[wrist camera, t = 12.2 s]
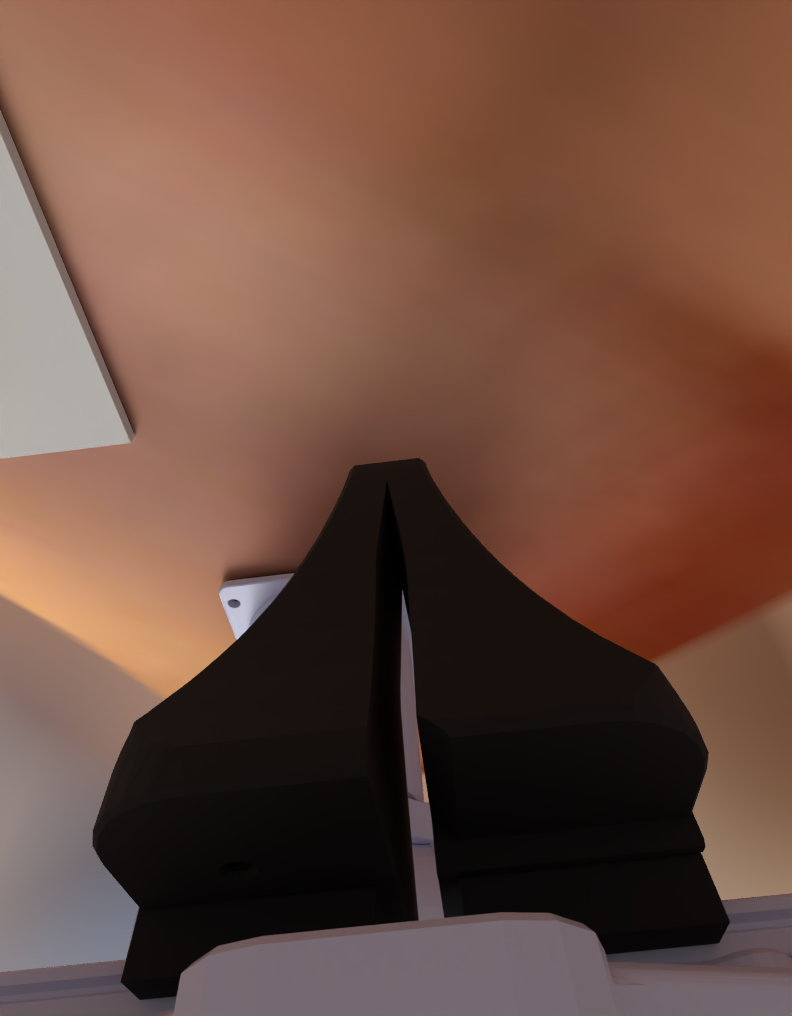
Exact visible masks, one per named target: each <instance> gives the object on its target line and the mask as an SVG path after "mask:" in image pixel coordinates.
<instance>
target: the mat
mask: <svg viewBox="0 0 792 1016" xmlns="http://www.w3.org/2000/svg"><path fill="white" fill-rule="evenodd" d="M134 436H135V435H134V433H133V430H132V428H131V425H130V423H129V420H128V418H127V416H126V413H125V411H124V408H123V406H122V403H121V401H120V399H119V396H118V394H117V391H116V389H115V386H114V384H113V382H112V379H111V377H110V374H109V372H108V370H107V367H106V365H105V362H104V360H103V357H102V355H101V353H100V350H99V348H98V345H97V343H96V340H95V338H94V336H93V333H92V331H91V328H90V326H89V323H88V321H87V319H86V316H85V314H84V311H83V309H82V306H81V304H80V302H79V299H78V297H77V294H76V292H75V290H74V287H73V285H72V282H71V280H70V277H69V275H68V273H67V270H66V268H65V265H64V263H63V260H62V258H61V256H60V253H59V251H58V248H57V246H56V243H55V241H54V239H53V236H52V234H51V231H50V229H49V226H48V224H47V222H46V219H45V217H44V214H43V212H42V209H41V207H40V205H39V202H38V200H37V197H36V195H35V193H34V190H33V188H32V185H31V183H30V180H29V178H28V176H27V173H26V171H25V168H24V166H23V163H22V161H21V159H20V156H19V154H18V151H17V149H16V146H15V144H14V142H13V139H12V137H11V134H10V132H9V129H8V127H7V125H6V122H5V120H4V117H3V115H2V113H1V110H0V459H2V458H10V457H18V456H27V455H35V454H43V453H52V452H60V451H68V450H76V449H85V448H93V447H101V446H110V445H118V444H126V443H131V441H132V440H133V438H134Z"/></svg>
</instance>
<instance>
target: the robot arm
mask: <svg viewBox="0 0 792 1016" xmlns="http://www.w3.org/2000/svg"><path fill="white" fill-rule="evenodd" d="M219 597H220V599H221V602H222V604H223V607H224V609H225V612H226V615H227V617H228V620H229V622H230V625H231V628H232V630H233V633H234V635H235V638H236V641H235V642H234V643H233V644H232V645H231V646H230V647H229V648H228V649H227V650H226V651H224V652H223V653H222V654H221V655H220V656H219V657H218V658H217V659H216V660H214V661H213V662H212V663H211V664H210V665H209V666H207V667H206V668H205V669H204V670H203V671H202V672H200V673H199V674H198V675H197V676H195V677H194V678H193V679H192V680H191V681H189V682H188V683H187V684H185V685H184V686H183V687H181V688H180V689H179V690H177V691H176V692H175V693H173V694H172V695H171V696H169V697H168V698H167V699H165V700H164V701H163V702H161V703H160V704H159V705H157V706H156V707H155V708H153V709H152V710H151V711H149V712H148V713H147V714H145V715H144V716H142V717H141V718H139V719H138V720H136V721H135V722H134V724H133V726H132V729H131V731H130V734H129V736H128V738H127V740H126V742H125V744H124V746H123V748H122V750H121V752H120V755H119V757H118V760H117V762H116V764H115V767H114V769H113V772H112V775H111V778H110V781H109V784H108V787H107V790H106V793H105V796H104V799H103V802H102V805H101V808H100V811H99V814H98V817H97V820H96V823H95V826H94V829H93V847H94V849H95V851H96V853H97V855H98V857H99V858H100V860H101V862H102V863H103V865H104V866H105V867H106V868H107V870H108V871H109V872H110V873H111V874H112V875H113V877H114V878H115V879H116V880H117V881H118V883H119V884H120V885H121V886H122V887H123V888H124V890H125V891H126V892H127V893H128V894H129V896H130V897H131V898H132V899H133V900H134V901H135V903H136V904H137V905H138V910H137V914H136V918H135V922H134V926H133V931H132V935H131V940H130V944H129V949H128V954H127V958H126V960H118V961H107V962H98V963H87V964H77V965H67V966H58V967H47V968H37V969H27V970H17V971H8V972H0V1016H792V894H782V895H771V896H761V897H752V898H741V899H732V900H721V899H720V897H719V895H718V892H717V889H716V887H715V885H714V882H713V880H712V878H711V875H710V873H709V871H708V868H707V866H706V864H705V861H704V859H703V856H702V854H701V852H703V851H704V849H705V842H704V838H703V835H702V833H701V831H700V828H699V826H698V824H697V821H696V819H695V817H694V815H693V812H692V810H693V807H694V805H695V801H696V799H697V796H698V793H699V790H700V787H701V784H702V781H703V778H704V775H705V773H706V769H707V762H708V750H707V748H706V746H705V743H704V741H703V739H702V736H701V734H700V731H699V729H698V727H697V725H696V723H695V721H694V720H693V718H692V716H691V714H690V712H689V711H688V709H687V708H686V706H685V705H684V703H683V702H682V700H681V699H680V697H679V696H678V694H677V693H676V691H675V690H674V688H673V687H672V686H671V684H670V683H669V681H668V680H667V678H666V677H665V676H664V674H663V673H662V672H661V670H660V669H659V667H658V666H657V665H656V664H654V663H652V662H650V661H648V660H646V659H644V658H642V657H640V656H638V655H636V654H634V653H632V652H630V651H628V650H626V649H624V648H623V647H621V646H619V645H617V644H615V643H613V642H611V641H609V640H607V639H605V638H603V637H601V636H599V635H598V634H596V633H594V632H593V631H591V630H589V629H588V628H586V627H584V626H583V625H581V624H579V623H578V622H576V621H574V620H573V619H571V618H570V617H568V616H567V615H566V614H564V613H563V612H561V611H560V610H559V609H557V608H556V607H554V606H553V605H552V604H550V603H549V602H547V601H546V600H545V599H543V598H542V597H540V596H539V595H537V594H536V593H535V592H534V591H532V590H531V589H530V588H529V587H528V586H526V585H525V584H524V583H523V582H521V581H520V580H519V579H518V578H517V577H515V576H514V575H513V574H512V573H511V572H510V571H509V570H508V569H507V568H506V567H504V566H503V565H502V564H501V563H500V562H499V561H498V560H497V559H496V558H495V557H494V556H493V555H492V554H491V553H490V552H489V551H488V550H487V549H486V548H485V547H484V546H483V545H482V544H481V543H480V541H479V540H478V539H477V538H476V537H475V536H474V535H473V534H472V533H471V531H470V530H469V529H468V528H467V527H466V525H465V524H464V523H463V522H462V521H461V519H460V518H459V517H458V515H457V514H456V513H455V511H454V510H453V509H452V508H451V506H450V505H449V504H448V502H447V501H446V499H445V498H444V496H443V495H442V493H441V492H440V490H439V489H438V487H437V486H436V484H435V482H434V481H433V479H432V477H431V475H430V473H429V471H428V469H427V467H426V464H425V462H423V461H422V460H421V459H420V458H415V459H407V460H399V461H390V462H382V463H373V464H365V465H356V466H354V467H353V468H352V469H351V470H350V472H349V475H348V478H347V480H346V483H345V485H344V488H343V490H342V492H341V495H340V497H339V499H338V501H337V503H336V505H335V507H334V509H333V511H332V513H331V515H330V517H329V518H328V520H327V522H326V524H325V526H324V528H323V530H322V531H321V533H320V535H319V536H318V538H317V540H316V541H315V543H314V544H313V546H312V548H311V549H310V551H309V552H308V554H307V555H306V557H305V559H304V560H303V562H302V563H301V565H300V566H299V568H298V569H297V570H296V572H295V573H291V574H282V575H273V576H265V577H256V578H247V579H238V580H230V581H226V582H224V583H222V584H221V586H220V589H219ZM231 599H236V600H238V601H232V600H231ZM417 724H418V727H417ZM418 730H419V737H420V744H421V751H422V757H423V764H424V771H425V778H426V785H427V791H428V798H429V803H426V802H424V796H423V785H422V773H421V761H420V750H419V739H418Z"/></svg>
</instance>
